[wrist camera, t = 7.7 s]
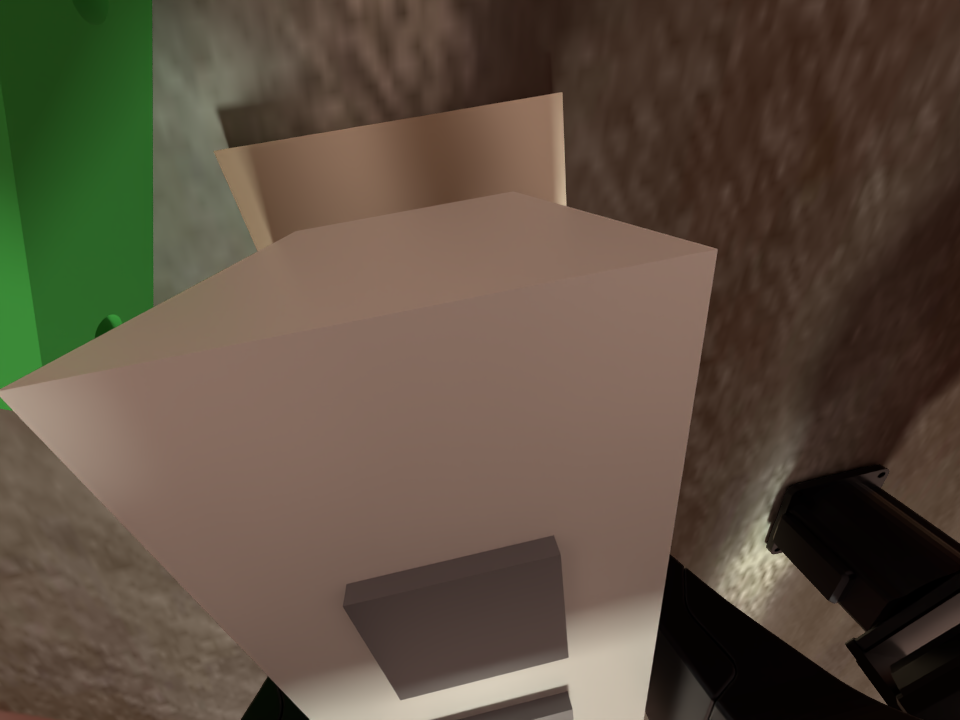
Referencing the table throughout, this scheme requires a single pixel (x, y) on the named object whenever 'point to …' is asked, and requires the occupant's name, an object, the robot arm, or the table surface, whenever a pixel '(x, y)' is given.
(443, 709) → the power strip
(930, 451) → the table surface
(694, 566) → the table surface
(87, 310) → the pipe clamp
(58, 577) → the table surface
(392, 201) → the stand
